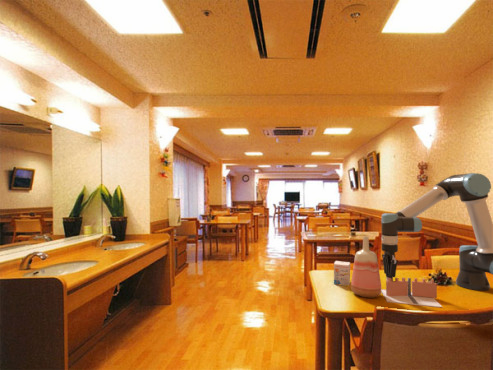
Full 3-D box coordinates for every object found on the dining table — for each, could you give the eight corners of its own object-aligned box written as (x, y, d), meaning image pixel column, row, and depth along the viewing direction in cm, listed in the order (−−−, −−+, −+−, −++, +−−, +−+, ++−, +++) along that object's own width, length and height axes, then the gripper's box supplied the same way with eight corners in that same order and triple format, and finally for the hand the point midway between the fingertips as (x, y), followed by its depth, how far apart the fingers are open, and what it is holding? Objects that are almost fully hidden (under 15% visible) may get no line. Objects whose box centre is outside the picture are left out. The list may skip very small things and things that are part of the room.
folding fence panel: (406, 294, 147) (406, 277, 147) (407, 295, 146) (407, 278, 146) (386, 295, 146) (386, 277, 146) (387, 295, 145) (387, 278, 145)
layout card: (429, 294, 149) (429, 293, 149) (442, 307, 131) (442, 306, 131) (380, 290, 155) (380, 289, 155) (387, 301, 138) (387, 300, 138)
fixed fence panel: (435, 297, 144) (435, 279, 144) (436, 298, 142) (436, 280, 143) (407, 294, 147) (407, 277, 147) (408, 295, 146) (408, 278, 146)
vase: (379, 302, 137) (379, 239, 138) (348, 296, 145) (348, 236, 146) (383, 293, 150) (383, 236, 151) (354, 288, 157) (354, 233, 158)
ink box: (333, 284, 164) (333, 263, 165) (334, 280, 172) (334, 260, 173) (349, 286, 161) (349, 265, 161) (350, 282, 169) (350, 261, 169)
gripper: (377, 241, 155) (377, 285, 155) (387, 245, 142) (387, 293, 142) (391, 241, 155) (391, 285, 155) (403, 246, 142) (403, 294, 142)
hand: (389, 289), depth 148 cm, fingers closed
